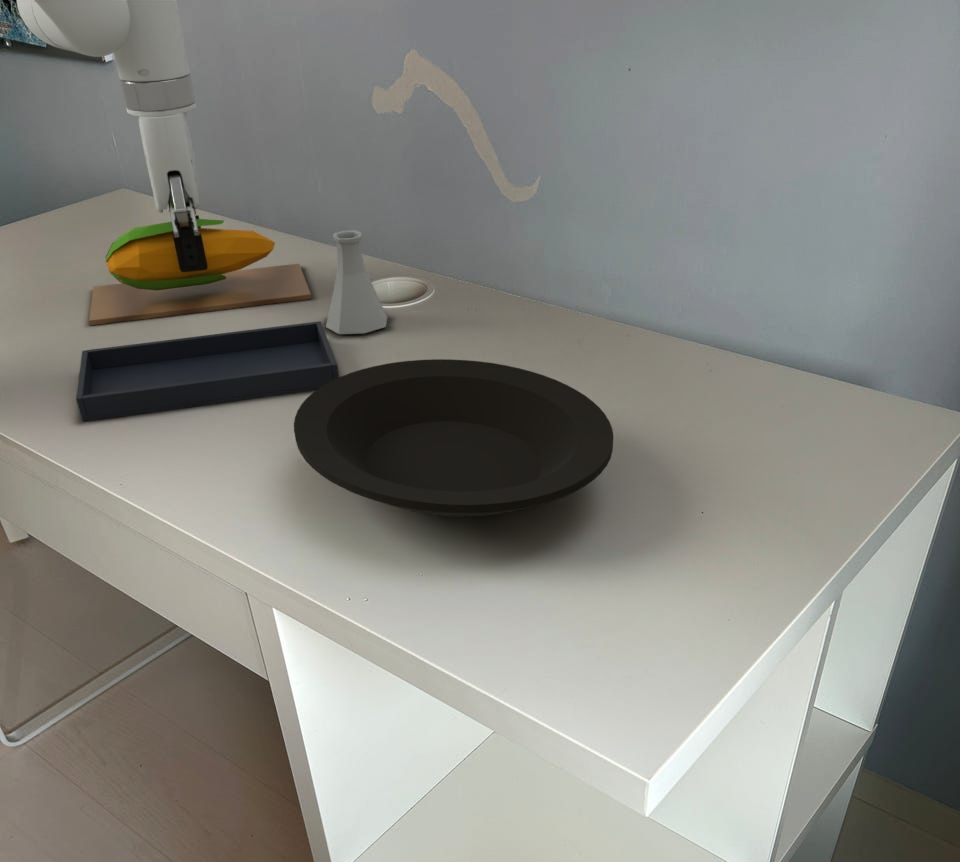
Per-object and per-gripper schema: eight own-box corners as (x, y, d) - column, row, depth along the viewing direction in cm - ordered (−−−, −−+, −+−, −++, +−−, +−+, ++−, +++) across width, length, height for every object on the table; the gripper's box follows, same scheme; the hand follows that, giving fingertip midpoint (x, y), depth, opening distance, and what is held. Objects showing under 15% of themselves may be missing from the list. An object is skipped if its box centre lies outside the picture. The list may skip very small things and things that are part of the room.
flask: (319, 318, 115) (307, 229, 108) (379, 309, 116) (371, 221, 110) (333, 340, 109) (321, 248, 103) (395, 330, 111) (388, 239, 105)
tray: (82, 421, 95) (75, 398, 94) (88, 372, 105) (82, 350, 103) (339, 386, 100) (337, 364, 98) (323, 342, 109) (320, 320, 108)
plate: (241, 484, 85) (229, 424, 82) (435, 391, 98) (432, 336, 95) (479, 611, 70) (476, 546, 66) (669, 481, 83) (676, 421, 80)
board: (90, 325, 115) (88, 320, 115) (94, 291, 124) (93, 286, 124) (311, 299, 120) (310, 294, 119) (299, 267, 129) (299, 263, 128)
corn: (95, 218, 116) (263, 198, 121) (112, 282, 121) (273, 260, 126) (99, 241, 111) (275, 218, 116) (116, 306, 116) (284, 282, 121)
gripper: (125, 84, 114) (160, 242, 125) (122, 113, 101) (162, 287, 112) (191, 79, 115) (220, 236, 126) (196, 107, 102) (229, 280, 113)
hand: (193, 259), depth 119 cm, fingers closed on corn, 6 cm apart
